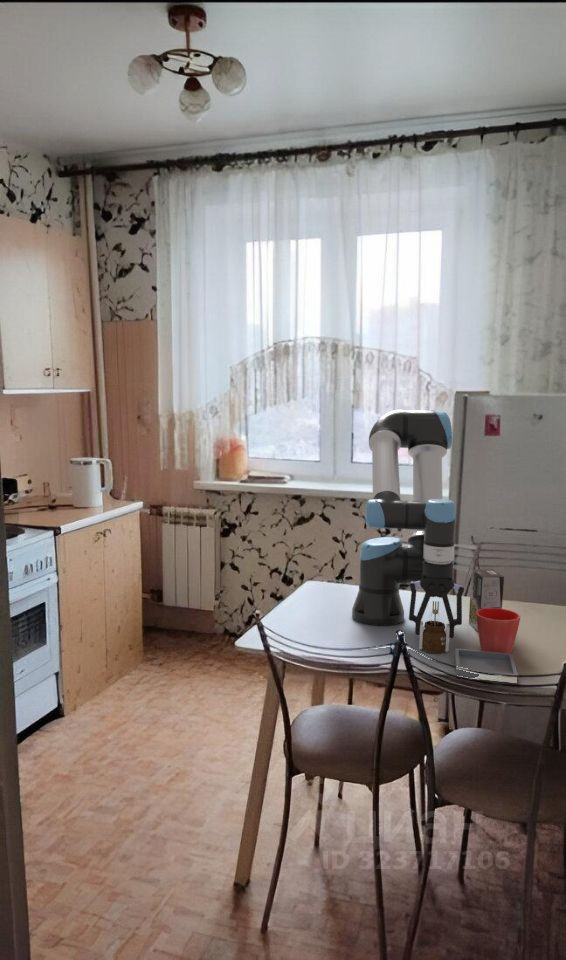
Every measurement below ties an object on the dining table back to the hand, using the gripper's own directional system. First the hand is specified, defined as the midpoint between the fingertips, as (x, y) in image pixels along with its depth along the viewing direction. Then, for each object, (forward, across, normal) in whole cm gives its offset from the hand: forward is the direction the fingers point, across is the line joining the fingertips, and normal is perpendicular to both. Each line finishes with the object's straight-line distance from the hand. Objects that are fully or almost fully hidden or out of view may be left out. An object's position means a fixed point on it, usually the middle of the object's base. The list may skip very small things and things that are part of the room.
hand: (433, 648), depth 179 cm
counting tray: (0, +12, -10) cm, 16 cm away
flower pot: (+1, +16, +4) cm, 16 cm away
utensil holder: (+1, 0, 0) cm, 1 cm away
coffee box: (+1, +14, +21) cm, 25 cm away
